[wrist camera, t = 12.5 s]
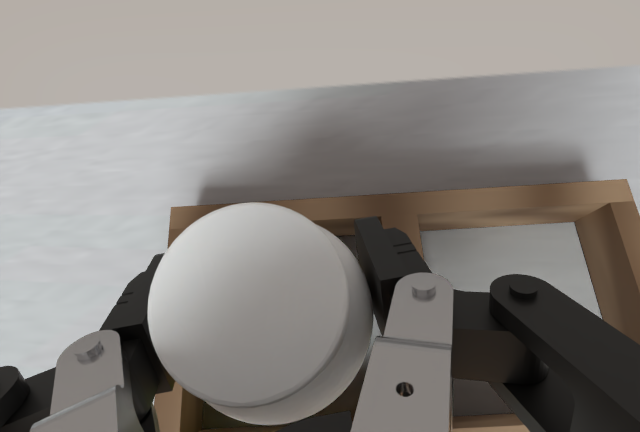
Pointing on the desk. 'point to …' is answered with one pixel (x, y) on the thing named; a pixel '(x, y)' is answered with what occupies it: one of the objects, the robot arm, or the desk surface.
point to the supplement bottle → (260, 313)
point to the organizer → (456, 213)
